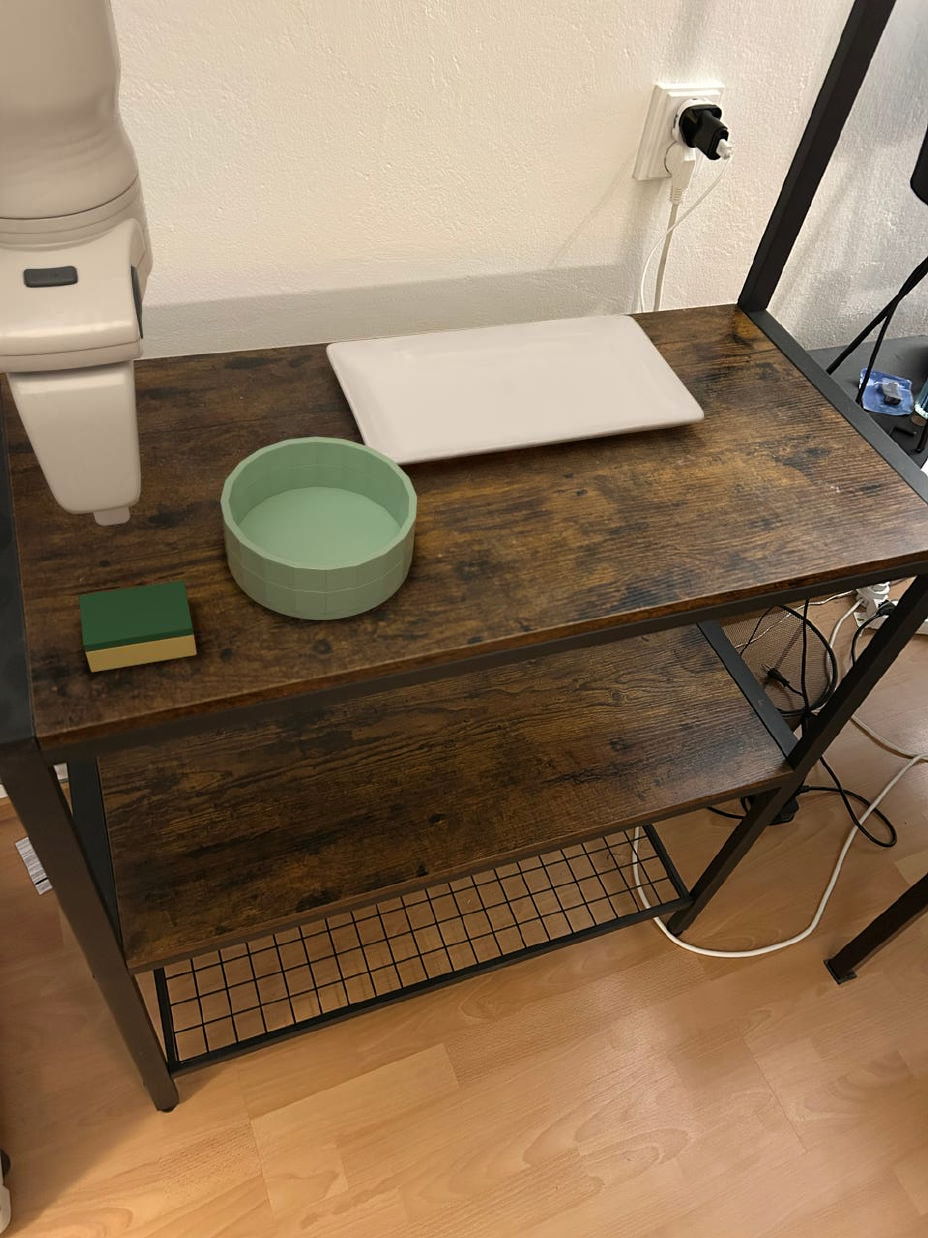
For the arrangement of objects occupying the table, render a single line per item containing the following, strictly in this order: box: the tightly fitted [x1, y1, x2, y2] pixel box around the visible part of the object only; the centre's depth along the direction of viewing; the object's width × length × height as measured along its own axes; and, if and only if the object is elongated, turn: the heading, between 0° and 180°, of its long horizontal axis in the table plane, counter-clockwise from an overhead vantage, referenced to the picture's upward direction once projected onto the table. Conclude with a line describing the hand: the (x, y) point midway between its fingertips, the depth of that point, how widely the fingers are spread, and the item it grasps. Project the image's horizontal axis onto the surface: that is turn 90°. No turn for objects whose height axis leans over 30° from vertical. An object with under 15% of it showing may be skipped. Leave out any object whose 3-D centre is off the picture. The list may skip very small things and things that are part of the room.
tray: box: [325, 314, 705, 467], centre depth 89 cm, size 17×32×4 cm, turn 109°
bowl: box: [219, 436, 418, 621], centre depth 73 cm, size 14×14×6 cm
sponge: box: [78, 579, 198, 673], centre depth 67 cm, size 7×4×3 cm, turn 108°
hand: (106, 459), depth 56 cm, fingers open, 8 cm apart
